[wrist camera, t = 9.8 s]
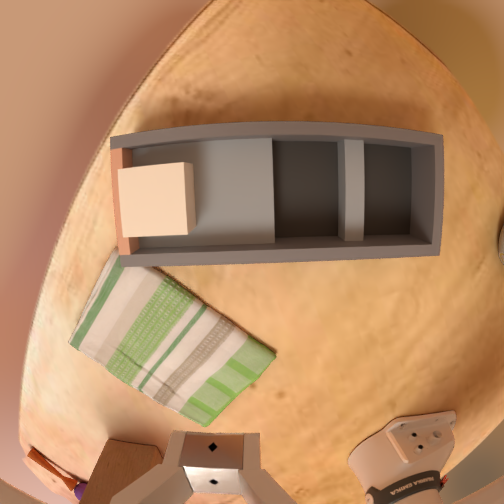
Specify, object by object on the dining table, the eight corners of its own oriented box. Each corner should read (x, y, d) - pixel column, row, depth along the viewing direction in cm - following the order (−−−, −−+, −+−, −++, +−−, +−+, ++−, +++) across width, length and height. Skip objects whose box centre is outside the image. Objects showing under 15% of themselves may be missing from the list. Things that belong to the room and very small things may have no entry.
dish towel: (122, 239, 32) (109, 246, 29) (279, 348, 36) (281, 364, 32) (74, 334, 36) (62, 346, 33) (205, 419, 39) (202, 436, 36)
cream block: (193, 163, 27) (183, 162, 23) (196, 226, 28) (187, 234, 25) (134, 169, 27) (117, 169, 23) (138, 229, 29) (123, 237, 25)
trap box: (416, 138, 29) (442, 135, 23) (415, 243, 32) (439, 255, 27) (132, 142, 29) (110, 137, 24) (140, 252, 32) (121, 267, 27)
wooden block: (107, 437, 41) (70, 520, 22) (157, 445, 41) (129, 539, 21) (125, 467, 44) (98, 543, 24) (171, 474, 43) (152, 557, 24)
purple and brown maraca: (26, 453, 41) (95, 503, 42) (37, 441, 47) (102, 488, 48) (23, 462, 41) (88, 510, 42) (33, 450, 47) (95, 496, 48)
